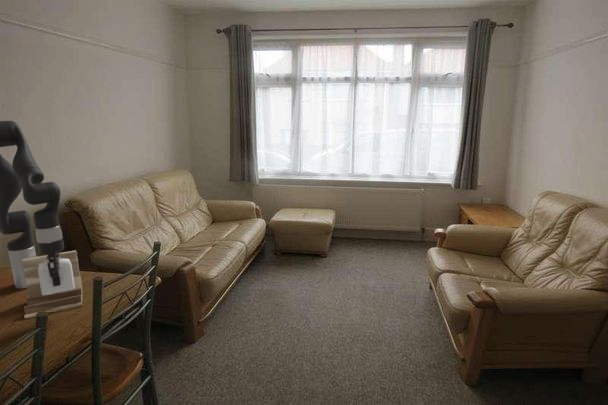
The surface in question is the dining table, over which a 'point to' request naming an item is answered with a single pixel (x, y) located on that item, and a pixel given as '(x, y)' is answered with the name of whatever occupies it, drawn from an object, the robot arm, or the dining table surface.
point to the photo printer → (65, 276)
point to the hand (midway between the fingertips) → (57, 282)
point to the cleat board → (50, 301)
